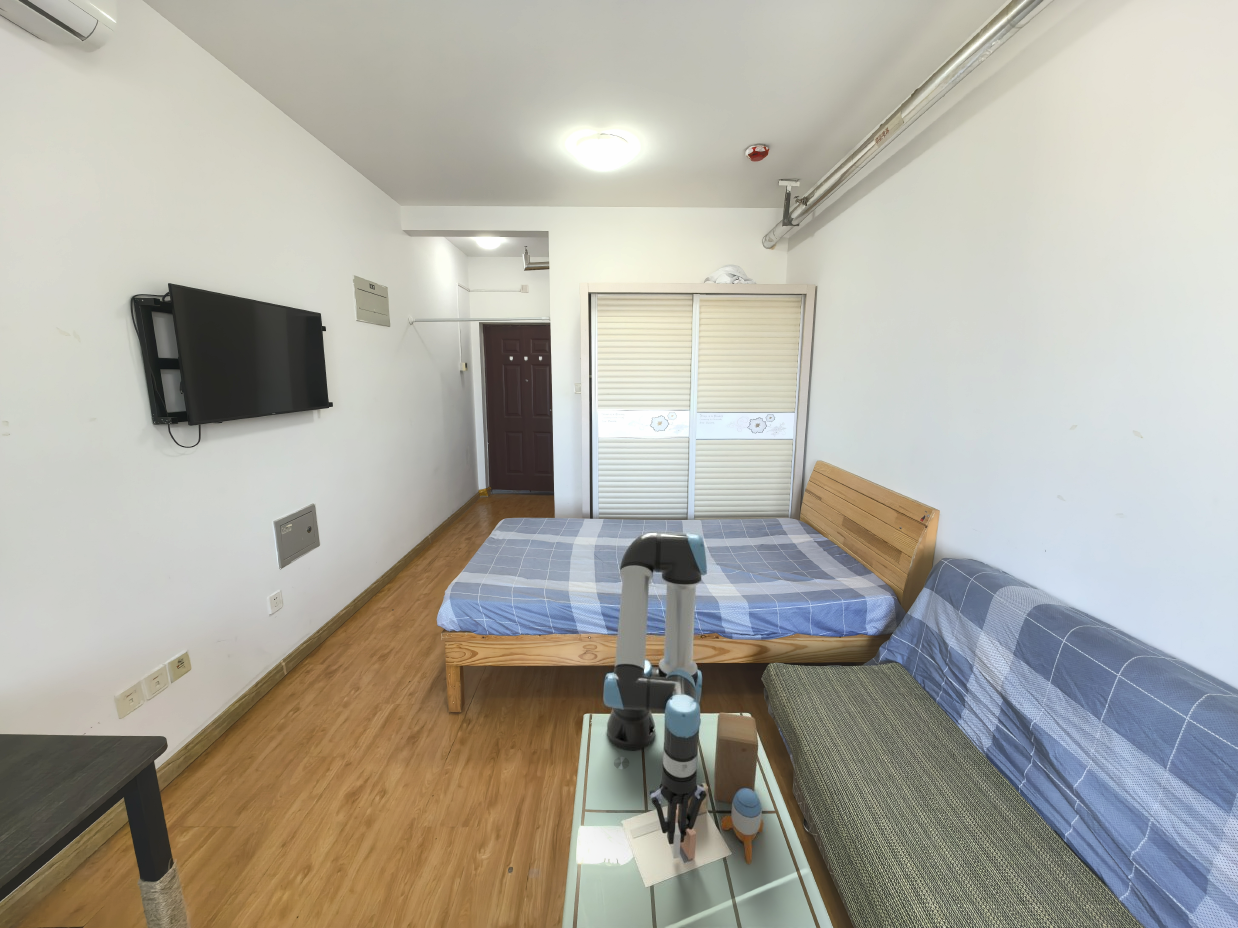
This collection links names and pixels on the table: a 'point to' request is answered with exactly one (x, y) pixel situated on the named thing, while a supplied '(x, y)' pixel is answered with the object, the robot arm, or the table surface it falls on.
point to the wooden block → (735, 755)
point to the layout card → (657, 852)
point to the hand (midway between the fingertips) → (674, 851)
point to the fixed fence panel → (704, 803)
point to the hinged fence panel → (688, 841)
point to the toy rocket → (745, 818)
